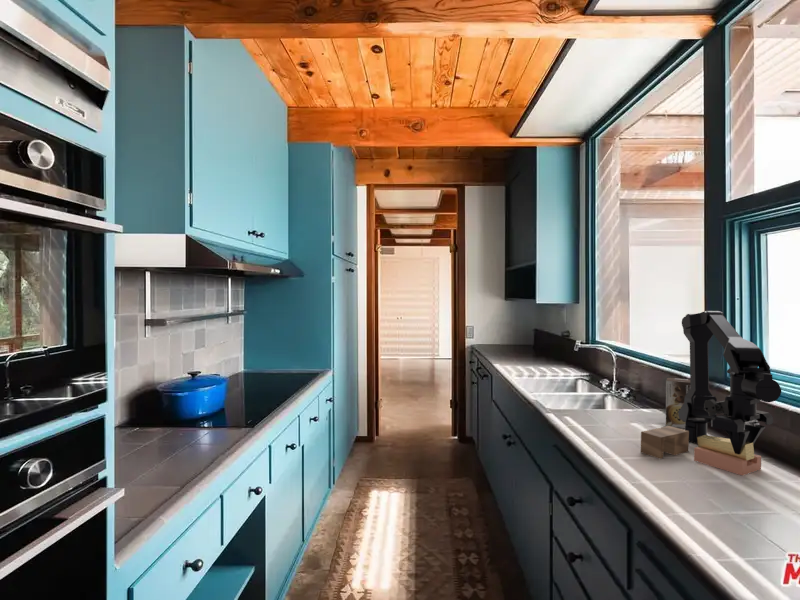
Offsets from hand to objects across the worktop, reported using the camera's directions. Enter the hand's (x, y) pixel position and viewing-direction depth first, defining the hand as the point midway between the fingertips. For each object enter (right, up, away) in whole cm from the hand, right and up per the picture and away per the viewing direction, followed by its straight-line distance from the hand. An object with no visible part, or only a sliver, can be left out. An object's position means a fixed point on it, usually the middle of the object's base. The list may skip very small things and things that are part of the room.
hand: (741, 452), depth 125 cm
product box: (+8, -4, +40) cm, 41 cm away
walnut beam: (-13, -4, +13) cm, 19 cm away
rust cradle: (-2, -4, +3) cm, 6 cm away
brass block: (-2, -2, +3) cm, 4 cm away
